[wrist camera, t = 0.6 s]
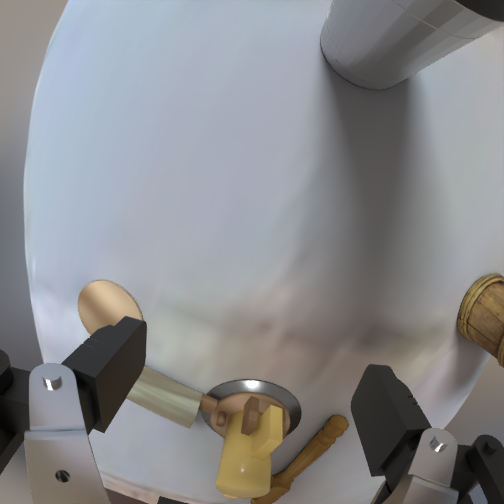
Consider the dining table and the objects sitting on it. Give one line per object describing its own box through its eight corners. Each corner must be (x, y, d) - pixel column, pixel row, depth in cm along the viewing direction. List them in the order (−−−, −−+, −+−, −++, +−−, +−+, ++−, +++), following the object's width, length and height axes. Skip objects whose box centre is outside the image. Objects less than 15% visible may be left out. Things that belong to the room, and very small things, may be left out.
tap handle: (352, 431, 31) (262, 510, 39) (348, 415, 34) (263, 498, 42) (332, 427, 31) (247, 508, 39) (329, 411, 34) (248, 496, 42)
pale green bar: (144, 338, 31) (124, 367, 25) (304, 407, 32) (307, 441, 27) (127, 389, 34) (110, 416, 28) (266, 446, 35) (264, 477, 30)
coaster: (87, 266, 30) (84, 268, 29) (153, 304, 30) (151, 306, 30) (76, 323, 32) (73, 326, 32) (133, 359, 33) (132, 361, 32)
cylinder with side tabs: (256, 444, 34) (250, 503, 24) (218, 431, 33) (205, 491, 24) (297, 399, 31) (302, 468, 21) (254, 383, 30) (247, 454, 21)
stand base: (225, 363, 32) (224, 365, 31) (320, 400, 32) (321, 401, 32) (188, 422, 35) (188, 423, 35) (270, 450, 36) (270, 452, 36)
